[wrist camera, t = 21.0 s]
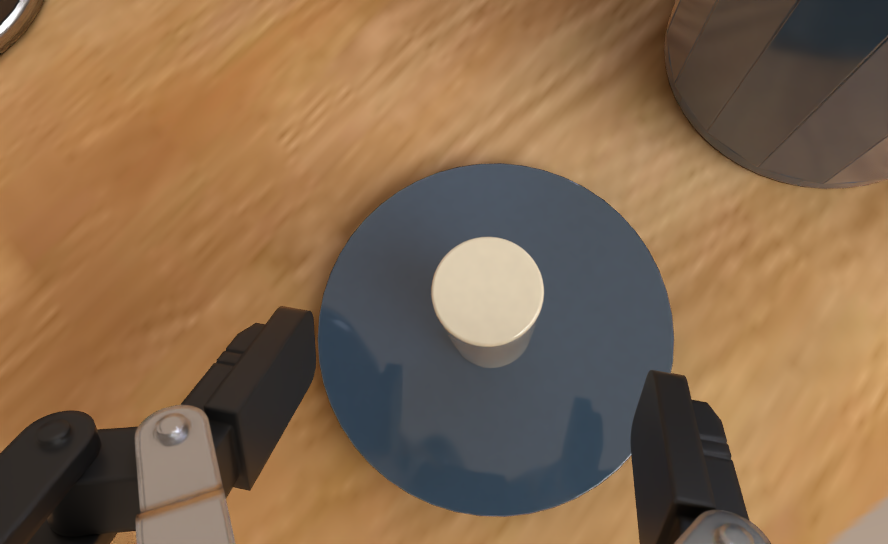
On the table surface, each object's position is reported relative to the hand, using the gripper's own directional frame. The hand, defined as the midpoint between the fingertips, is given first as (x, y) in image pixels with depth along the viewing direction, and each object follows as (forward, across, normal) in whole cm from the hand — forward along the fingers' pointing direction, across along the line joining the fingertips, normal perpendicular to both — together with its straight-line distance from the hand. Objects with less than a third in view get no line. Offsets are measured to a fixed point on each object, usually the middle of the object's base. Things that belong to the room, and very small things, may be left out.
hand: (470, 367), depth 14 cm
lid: (+6, 0, +3) cm, 7 cm away
